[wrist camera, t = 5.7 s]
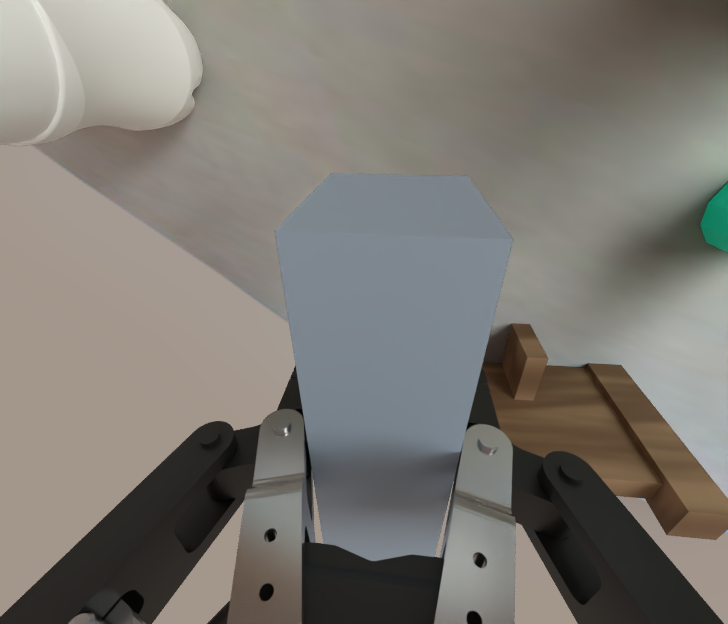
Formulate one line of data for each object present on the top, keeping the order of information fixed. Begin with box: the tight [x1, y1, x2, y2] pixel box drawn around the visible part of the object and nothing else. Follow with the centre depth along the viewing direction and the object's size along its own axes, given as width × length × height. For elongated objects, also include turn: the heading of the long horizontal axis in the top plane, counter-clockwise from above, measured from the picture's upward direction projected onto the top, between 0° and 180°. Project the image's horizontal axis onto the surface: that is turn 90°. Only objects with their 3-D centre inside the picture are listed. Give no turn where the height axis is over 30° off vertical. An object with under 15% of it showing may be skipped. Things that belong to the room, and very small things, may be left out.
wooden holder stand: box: [481, 324, 728, 540], centre depth 25 cm, size 7×18×13 cm, turn 91°
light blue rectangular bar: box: [275, 174, 513, 561], centre depth 12 cm, size 14×4×5 cm, turn 0°
